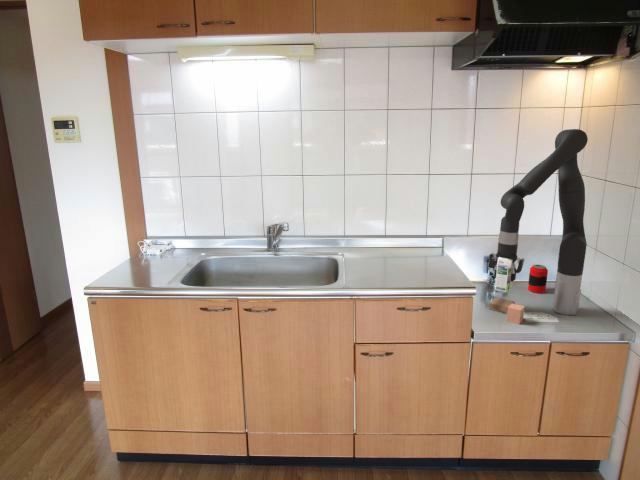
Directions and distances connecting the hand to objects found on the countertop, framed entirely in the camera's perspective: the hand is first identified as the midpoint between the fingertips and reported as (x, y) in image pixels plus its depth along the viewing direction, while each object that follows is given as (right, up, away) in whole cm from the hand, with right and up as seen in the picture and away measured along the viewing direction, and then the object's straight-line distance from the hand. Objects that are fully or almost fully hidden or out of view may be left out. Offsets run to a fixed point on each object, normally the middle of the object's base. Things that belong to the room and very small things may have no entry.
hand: (504, 279), depth 190 cm
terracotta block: (+1, -16, -7) cm, 18 cm away
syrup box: (0, -5, +1) cm, 5 cm away
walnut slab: (0, -13, +3) cm, 13 cm away
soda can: (+24, -8, +22) cm, 34 cm away
